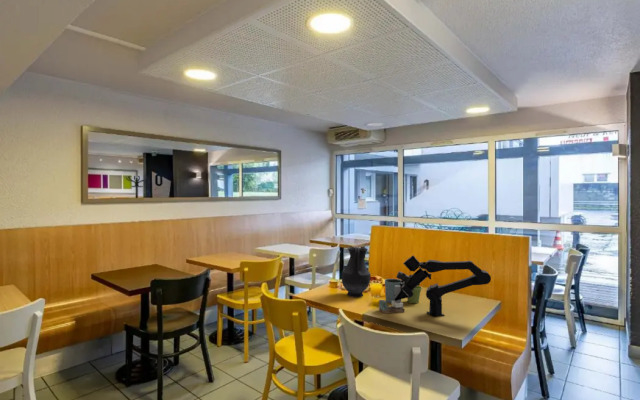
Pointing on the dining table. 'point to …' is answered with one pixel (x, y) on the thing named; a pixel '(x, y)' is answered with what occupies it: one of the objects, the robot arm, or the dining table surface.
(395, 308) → the rail bed
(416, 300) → the plant pot
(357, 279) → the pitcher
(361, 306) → the dining table surface
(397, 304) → the carriage
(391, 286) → the drinking glass
